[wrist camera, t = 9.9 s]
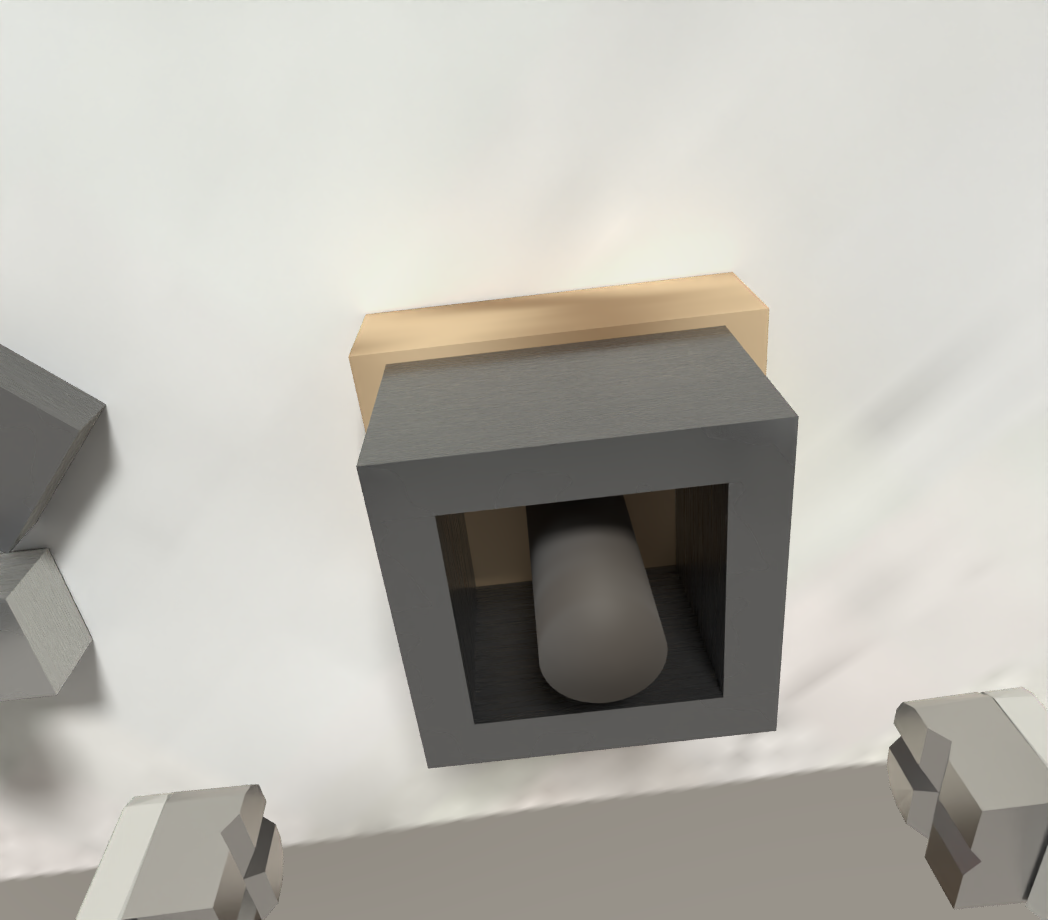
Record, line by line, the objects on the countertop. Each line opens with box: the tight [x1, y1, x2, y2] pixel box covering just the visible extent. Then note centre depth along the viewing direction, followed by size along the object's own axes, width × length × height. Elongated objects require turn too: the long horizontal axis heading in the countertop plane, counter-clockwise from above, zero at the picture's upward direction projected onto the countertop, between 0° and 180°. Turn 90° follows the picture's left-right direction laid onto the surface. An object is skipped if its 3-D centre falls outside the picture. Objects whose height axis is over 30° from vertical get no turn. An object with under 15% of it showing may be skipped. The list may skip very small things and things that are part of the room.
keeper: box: [349, 272, 769, 703], centre depth 16 cm, size 8×7×8 cm
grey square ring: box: [356, 325, 799, 768], centre depth 15 cm, size 6×6×4 cm
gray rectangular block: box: [0, 344, 106, 554], centre depth 18 cm, size 4×2×2 cm, turn 142°
